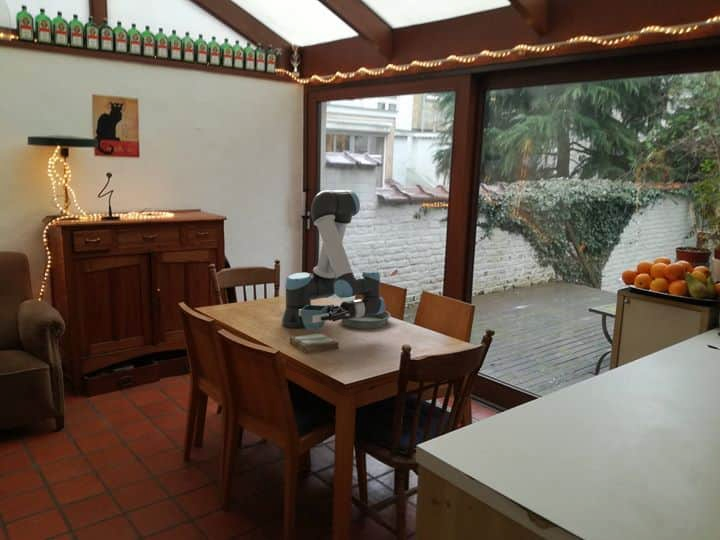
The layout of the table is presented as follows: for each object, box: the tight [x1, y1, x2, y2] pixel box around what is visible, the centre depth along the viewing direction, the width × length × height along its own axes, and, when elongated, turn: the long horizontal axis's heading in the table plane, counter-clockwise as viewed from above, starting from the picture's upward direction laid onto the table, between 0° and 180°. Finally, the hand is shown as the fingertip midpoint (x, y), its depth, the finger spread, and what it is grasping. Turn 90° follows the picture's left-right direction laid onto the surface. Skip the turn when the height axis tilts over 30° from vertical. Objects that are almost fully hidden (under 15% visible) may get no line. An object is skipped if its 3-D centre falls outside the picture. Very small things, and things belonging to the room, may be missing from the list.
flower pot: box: [301, 304, 328, 331], centre depth 242 cm, size 9×9×9 cm
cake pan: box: [341, 309, 392, 329], centre depth 281 cm, size 25×25×4 cm
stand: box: [289, 332, 339, 354], centre depth 244 cm, size 16×14×3 cm
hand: (305, 315), depth 240 cm, fingers closed on flower pot, 11 cm apart
